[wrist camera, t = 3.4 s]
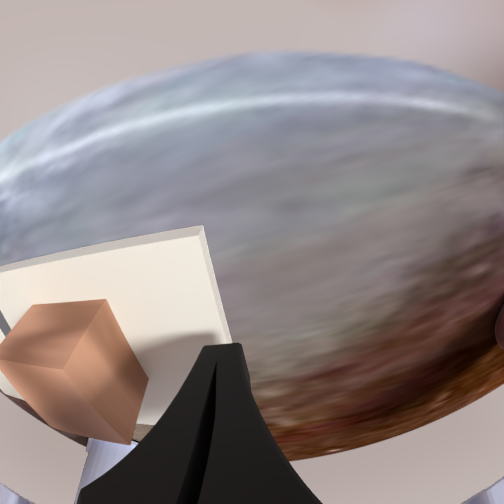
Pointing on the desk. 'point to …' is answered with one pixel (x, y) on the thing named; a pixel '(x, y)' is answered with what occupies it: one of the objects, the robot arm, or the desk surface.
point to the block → (76, 369)
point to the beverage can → (500, 328)
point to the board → (132, 301)
